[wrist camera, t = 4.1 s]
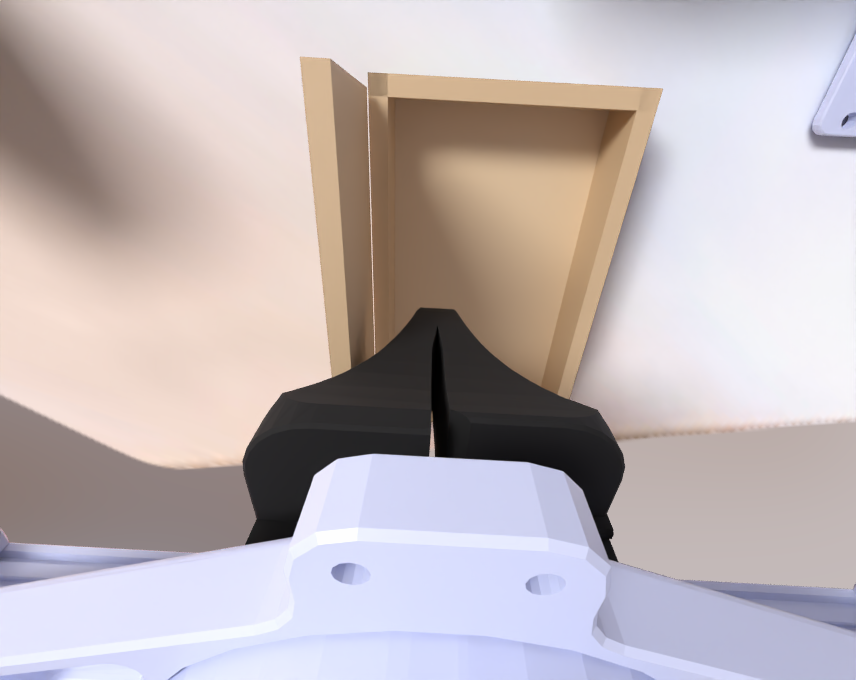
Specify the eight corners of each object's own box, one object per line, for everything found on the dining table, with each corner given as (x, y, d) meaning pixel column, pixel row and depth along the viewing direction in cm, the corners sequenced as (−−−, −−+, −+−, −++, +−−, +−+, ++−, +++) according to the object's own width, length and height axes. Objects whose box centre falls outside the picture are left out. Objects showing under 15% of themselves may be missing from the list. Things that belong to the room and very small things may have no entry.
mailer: (625, 92, 14) (663, 88, 12) (546, 393, 21) (560, 428, 19) (380, 79, 14) (367, 72, 12) (384, 383, 21) (377, 418, 19)
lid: (329, 59, 5) (292, 55, 5) (365, 581, 12) (349, 582, 12) (366, 87, 12) (349, 86, 12) (376, 416, 18) (365, 416, 18)
